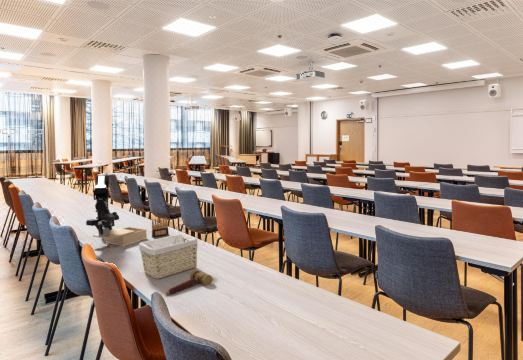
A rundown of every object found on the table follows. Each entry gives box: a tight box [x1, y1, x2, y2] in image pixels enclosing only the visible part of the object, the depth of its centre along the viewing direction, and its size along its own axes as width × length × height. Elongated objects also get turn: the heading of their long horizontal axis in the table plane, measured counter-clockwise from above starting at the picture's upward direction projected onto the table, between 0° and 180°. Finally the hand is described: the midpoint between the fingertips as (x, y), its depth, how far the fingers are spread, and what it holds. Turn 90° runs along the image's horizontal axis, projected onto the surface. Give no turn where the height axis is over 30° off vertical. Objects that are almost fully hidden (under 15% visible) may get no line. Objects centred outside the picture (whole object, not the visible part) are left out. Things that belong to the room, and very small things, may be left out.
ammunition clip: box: [151, 217, 170, 239], centre depth 245 cm, size 11×2×12 cm, turn 122°
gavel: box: [164, 270, 213, 296], centre depth 160 cm, size 21×5×10 cm
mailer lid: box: [92, 227, 135, 240], centre depth 228 cm, size 16×18×5 cm
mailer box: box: [105, 226, 148, 247], centre depth 236 cm, size 16×18×6 cm
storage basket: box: [138, 233, 199, 279], centre depth 181 cm, size 24×16×15 cm
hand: (104, 234), depth 222 cm, fingers open, 3 cm apart
